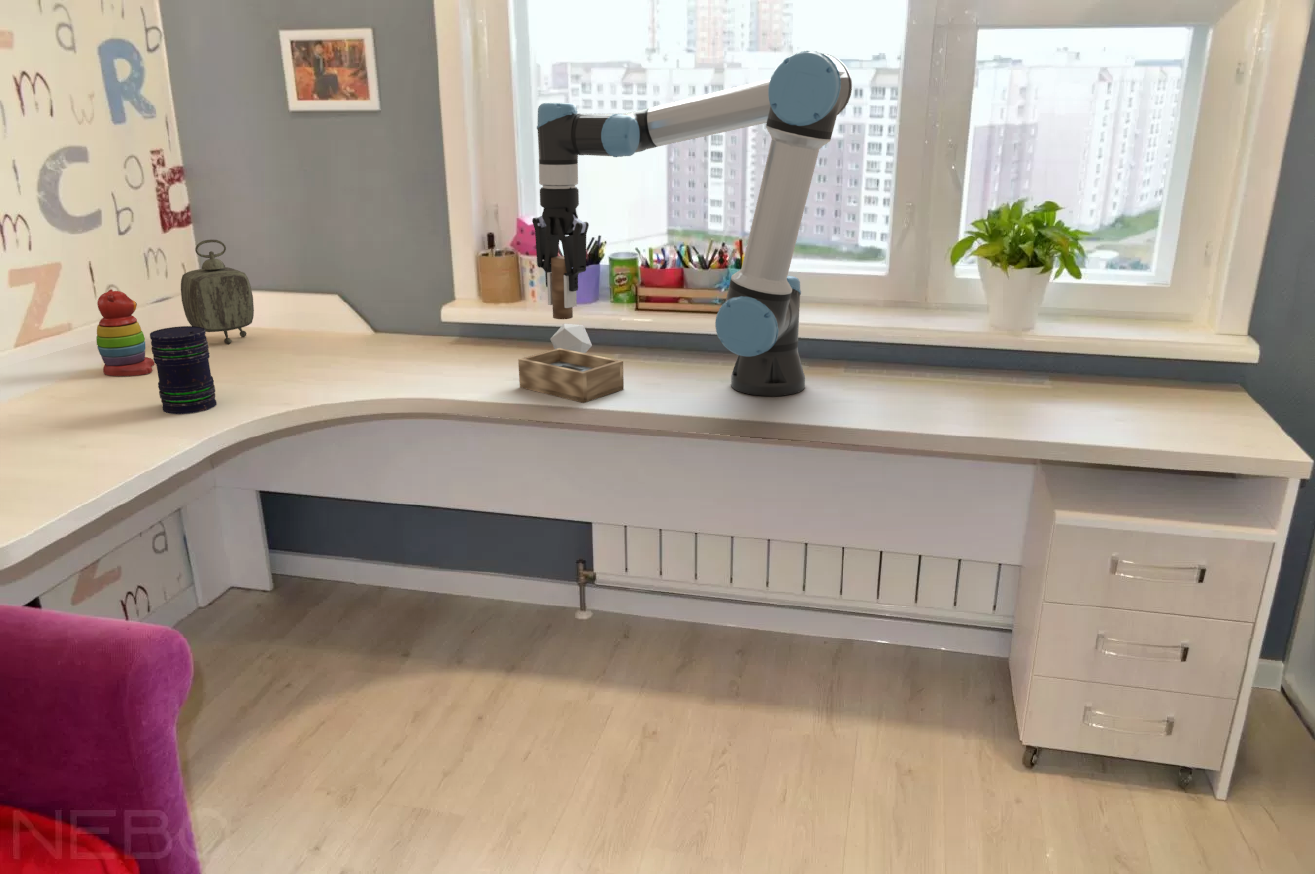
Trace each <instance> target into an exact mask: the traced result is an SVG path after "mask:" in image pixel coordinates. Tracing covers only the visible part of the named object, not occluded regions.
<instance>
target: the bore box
mask: <svg viewBox="0 0 1315 874" xmlns="http://www.w3.org/2000/svg"><path fill="white" fill-rule="evenodd" d="M517 361H518V377H519V379H518V381H519V388H521V389H523V390H525V389H526V390H530V391H534V392H538V393H540V394H541V393H542V394H546V395H550V396H553V397H558V398H562V399H565V400H570V401H574V402H578V403H582V404H585V403H588V402H591V401H594V400H596V399H597V400H598V399H600V398H603V397H606V396H609V395H611V394H614V393H617V392H619V391H623V390H625V388H624V380H625V379H624V360H619V359H616V358H615V359H614V358H610V357H606V356H605V357H604V356H601V355H595V354H590V353H587V352H586V353H581V352H577V351H572V350H567V349H562V348H557V349H554V348H553V349H551V350H547V351H542V352H540V353H537V354H532V355H529V356H524V357H521V358H518V360H517Z"/></svg>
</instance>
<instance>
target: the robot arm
mask: <svg viewBox="0 0 1315 874" xmlns="http://www.w3.org/2000/svg"><path fill="white" fill-rule="evenodd" d="M852 90H853V81H852V76H851V73H850V71H849V69H848V67H847V65H845V64H844V62H843V61H842V60H840V59H839V58H838V57H836V56H834V55H830V54H828V53H821V52H818V51H813V50H812V51H810V50H806V51H805V50H804V51H799V52H795V53H794V54H792V55H790V56H788V57H786V58H785V59H784V60H782V61H781V62H780V63H779V64H777V66H776V67H775V69H774V71H773V72H772V74H771V76H770V78H769V79H764V80H760V81H756V82H752V83H749V84H748V83H747V84H744V85H740V86H737V87H731V88H728V89H723V90H719V91H716V92H712V93H707V94H703V95H698V96H695V97H690V98H685V99H681V100H677V101H674V102H670V103H665V104H661V105H656V106H653V107H649V108H644V109H639V110H636V111H631V112H625V113H607V114H606V113H604V114H603V113H602V114H601V113H598V114H596V113H594V114H593V113H591V114H587V113H586V114H584V113H578V107H577V105H576V104H575V103H573V102H542V103H540V104H539V106H538V108H537V125H536V130H537V141H538V142H537V143H538V145H537V146H538V181H539V185H540V186H542V187H541V188H540V189H539V202H540V203H539V204H540V206H541V207H542V208H543V210H542V214H541V216H539V217H533V218H532V225H533V228H534V235H535V252H536V253H535V254H536V266H537V267H538V268H539V269H540V268H541V269H542V270H543V271H544V274H545V286H546V288H547V305H550V306H553V302H552V271H551V258H552V257H556V256H558V255H559V249H560V242H561V247H562V253H563V256H564V260H565V266H566V272H567V273H564V307H565V308H570V307H573V308H574V307H577V301H578V300H577V291H578V290H579V274H581V273H585V272H586V271H587V233H588V229H589V226H590V225H589V222H588V221H582V220H580V219H579V215H578V213H577V208H578V206H579V205H580V203H579V202H580V201H579V200H580V198H579V196H580V195H579V193H580V191H579V188H578V187H576V185H578V184H579V168H578V167H579V162H578V161H579V160H578V159H579V156H596V157H598V156H599V157H613V158H620V157H621V158H622V157H631V156H633V155H635V153H642V152H644V151H646V150H650V149H655V148H658V147H662V146H666V145H672V144H675V143H680V142H685V141H689V140H695V139H698V138H704V137H708V136H712V135H716V134H721V133H726V132H730V131H731V132H732V131H737V130H740V129H744V128H749V127H755V126H757V125H758V126H759V125H762V124H763V125H764V124H765V128H766V130H767V132H768V133H769V135H770V137H771V141H770V145H769V150H768V154H767V159H766V162H765V166H764V171H763V176H762V178H761V179H762V180H761V183H760V187H759V192H758V197H757V200H756V201H757V202H756V206H755V210H754V214H753V217H752V218H753V219H752V222H751V227H750V231H749V236H748V240H747V243H746V247H745V252H744V256H743V260H742V265H741V268H740V270H738V271H736V272H735V273H734V274H733V273H732V275H731V277H730V281H729V285H728V290H727V294H726V298H725V302H723V303H722V304H721V306H720V307H719V308H718V309H719V310H718V312H717V313H716V316H715V323H714V324H715V325H714V326H715V332H716V335H717V337H718V338H717V339H719V341H720V342H721V344H722V345H723V347H725V348H726V349H727V350H728V351H730V352H731V353H732V354H735V355H737V358H736V360H735V364H734V367H733V369H732V372H731V376H730V379H731V380H730V381H731V382H730V385H731V386H730V387H731V388H732V389H733V390H735V391H737V392H739V393H742V394H746V395H754V396H759V397H760V396H761V397H762V396H763V397H780V396H789V395H793V394H797V393H800V392H802V391H803V390H804V389H805V388H806V387H805V386H806V375H805V373H804V368H803V365H802V362H801V358H800V354H799V349H798V347H799V328H800V325H799V323H800V303H801V301H800V300H801V294H802V291H801V281H800V279H799V278H798V277H796V276H793V275H789V271H790V267H791V264H792V258H793V255H794V251H795V247H796V245H797V244H796V243H797V239H798V236H799V232H800V231H799V230H800V228H801V224H802V219H803V215H804V212H805V207H806V204H807V200H808V195H809V193H810V187H811V183H812V180H813V176H814V173H815V167H816V164H817V159H818V155H819V153H820V150H821V148H823V147H824V146H825V145H827V144H829V143H830V142H831V140H832V136H833V132H834V128H835V124H836V120H837V117H838V115H840V114H841V112H843V110H844V109H845V108H846V107H847V105H848V104H849V102H850V99H851V96H852Z"/></svg>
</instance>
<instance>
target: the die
mask: <svg viewBox="0 0 1315 874" xmlns="http://www.w3.org/2000/svg"><path fill="white" fill-rule="evenodd" d="M550 342H551V344H552V347H553V350H554V349H557V348H562V349H567V350H572V351H577V352H581V353H586V354H587V352H588V350H590V349H591V347H592V346H593V345H592V342H591V340H590V337H589V334H588V332H587V330H586V328H585V325H584V324H582V325H581V324H572V323H563V324H562V325H561V326H560V327H559V328H558V330H557V331H556V332H555V333H554V334H553V335H552V336H551V337H550Z"/></svg>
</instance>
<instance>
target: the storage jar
mask: <svg viewBox="0 0 1315 874" xmlns="http://www.w3.org/2000/svg"><path fill="white" fill-rule="evenodd" d="M206 334H207V332H205V328H203V327H197V326H191V325H186V326H185V325H183V326H181V325H179V326H170V327H165V328H160V329H157V330H154V331H151V332H150V333H149V338H150V340H151V341H150V344H151V353H152V356H153V358H152V359H153V361H154V365H156V370H157V371H156V372H157V375H158V383H157V388H158V390H159V391H158V393H159V394H158V395H159V398H160V399H161V400H160V401H161V404H162V411H163V412H164V413H166V414H170V415H190V414H196V413H200V412H205V411H206V412H207V411H209V410H211V409H214V408H215V407H216V406H217V405H218V403H217V400H216V386H215V383H214V376H213V375H212V373H211V367H210V361H209V359H210V351H209V348H210V347H209V341H208V339H207V336H206Z"/></svg>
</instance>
